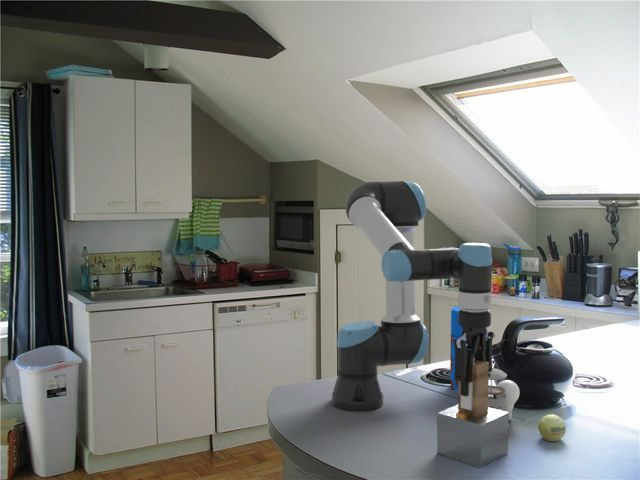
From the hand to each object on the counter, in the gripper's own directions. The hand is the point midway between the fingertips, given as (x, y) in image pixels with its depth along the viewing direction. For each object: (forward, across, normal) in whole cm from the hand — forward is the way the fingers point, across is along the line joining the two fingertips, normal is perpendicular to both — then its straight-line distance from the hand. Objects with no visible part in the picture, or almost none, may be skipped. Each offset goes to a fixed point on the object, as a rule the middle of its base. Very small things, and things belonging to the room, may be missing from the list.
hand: (473, 405), depth 166 cm
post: (+12, 0, 0) cm, 12 cm away
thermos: (+12, +44, +30) cm, 55 cm away
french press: (+12, +20, +8) cm, 25 cm away
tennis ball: (+12, +22, -9) cm, 27 cm away
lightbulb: (+12, +26, +6) cm, 29 cm away
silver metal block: (+12, 0, 0) cm, 12 cm away
